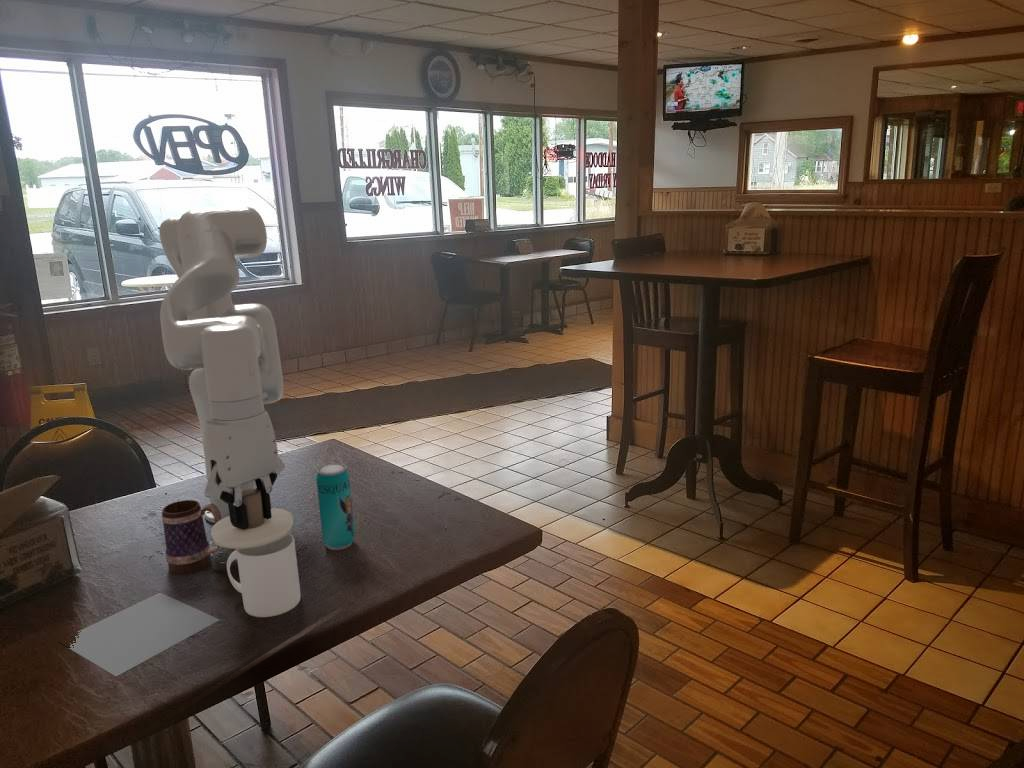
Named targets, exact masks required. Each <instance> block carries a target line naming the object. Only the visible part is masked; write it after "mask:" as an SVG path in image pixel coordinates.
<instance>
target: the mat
mask: <svg viewBox="0 0 1024 768" xmlns="http://www.w3.org/2000/svg"><path fill="white" fill-rule="evenodd" d="M219 621H221V619H219V618H217V617H214V616H213V615H211V614H208V613H206V612H203V611H202V610H199V609H197V608H195V607H193V606H191V605H189V604H187V603H184V602H182V601H180V600H178V599H175V598H173V597H171V596H169V595H166V594H165V593H162V592H158V593H155V594H154V595H152V596H150V597H148V598H146V599H144V600H141V601H139V602H137V603H134V604H133V605H130V606H129V607H127V608H124V609H123V610H120V611H118V612H116V613H114V614H112V615H110V616H107V617H106V618H104V619H101V620H100V621H97V622H95V623H93V624H90V625H89V626H87V627H84V628H82V629H80V630H78V631H77V632H80V631H81V632H80V633H78V634H79V635H78V636H79V638H77V637H78V636H75V637H76V643H73V644H71V643H70V644H71V645H70V647H71V648H68V649H69V650H70V649H71V651H72V652H74V653H75V654H77V655H79V656H81V657H82V658H84V659H85V660H87V661H89V662H90V663H92V664H94V665H96V666H97V667H99V668H101V669H102V670H104V671H106V672H107V673H109V674H111V675H112V676H114V677H115V678H116V677H118V676H121V675H122V674H124V673H126V672H128V671H130V670H132V669H134V668H135V667H136V666H139V665H141V664H143V663H145V662H146V661H149V660H150V659H152V658H153V657H155V656H157V655H159V654H161V653H163V652H164V651H166V650H168V649H170V648H172V647H174V646H176V645H177V644H179V643H181V642H183V641H185V640H187V639H188V638H190V637H192V636H193V635H195V634H197V633H200V632H202V631H203V630H205V629H207V628H209V627H211V626H212V625H214V624H216V623H217V622H219ZM73 642H75V641H73ZM72 645H74V646H72ZM73 647H74V648H73Z"/></svg>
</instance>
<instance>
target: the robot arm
mask: <svg viewBox="0 0 1024 768" xmlns="http://www.w3.org/2000/svg"><path fill="white" fill-rule="evenodd" d="M158 233H159V234H158V235H159V240H160V244H161V247H162V249H163V252H164V254H165V256H166V259H167V260H168V262H169V264H170V266H171V268H172V269H173V271H174V272H175V274H176V277H177V278H178V279H177V280H175V282H174V283H173V284H172V285H171V287H169V288H168V291H167V292H166V294H165V295H164V297H163V299H162V302H161V304H160V310H159V320H160V328H161V337H162V344H163V350H164V353H165V356H166V357H165V358H166V359H167V361H168V363H169V364H170V366H171V365H172V367H174V368H175V369H178V370H183V371H188V370H192V372H191V373H190V375H189V379H188V385H189V391H190V394H191V397H192V401H193V404H194V408H195V410H196V415H197V419H198V423H199V428H200V434H201V440H202V446H203V453H204V463H205V464H204V465H205V466H204V467H205V475H206V480H207V483H206V486H205V489H204V497H205V498H208V499H209V501H210V503H209V504H212V503H213V504H215V505H216V506H217V507H218V509H219V511H220V512H221V519H223V518H225V517H227V516H230V521H231V523H232V525H233V526H234V527H237V528H240V529H243V530H245V529H247V528H248V519H247V511H246V505H245V504H242V491H244V490H248V489H258V490H260V491H261V498H262V506H263V514H264V518H265V519H270V518H271V517H272V515H271V508H272V503H271V502H272V501H271V496H270V495H271V493H273V486H274V485H275V482H276V480H277V478H278V476H279V475H280V474H281V473H282V471H283V470H284V469H285V468H286V465H285V463H284V462H283V460H282V459H281V458H280V457H279V450H278V444H277V440H276V436H275V435H276V434H275V431H274V426H273V424H272V420H271V417H270V415H269V412H268V410H266V409H265V405H268V404H274V403H276V402H278V401H280V399H282V398H283V394H284V377H283V371H282V370H283V369H282V362H281V355H280V349H279V348H280V347H279V342H278V335H277V329H276V324H275V319H274V316H273V314H272V312H271V310H270V308H269V307H267V306H266V305H264V304H261V303H254V302H253V303H243V304H234V303H233V300H232V292H233V291H234V290H236V287H237V286H238V284H239V282H240V271H239V268H238V263H237V259H251V258H252V259H253V258H257V257H259V256H261V255H262V254H264V253H265V250H266V247H267V245H268V243H267V241H268V235H267V228H266V225H265V222H264V220H263V218H262V216H261V215H260V213H259V212H258V211H257V210H256V209H255V208H253V207H250V206H228V207H226V206H224V207H223V206H221V207H202V208H195V209H192V210H191V209H190V210H189V211H187V212H185V213H183V214H182V215H178V216H177V215H176V216H173V217H169V218H167V219H164V220H163V221H162V222H161V223H160V226H159V231H158ZM185 318H187V319H185ZM204 517H205V520H206V521H208V522H210V523H212V524H215V518H214V516H213V514H212V513H211V512H209V511H206V512H205V514H204Z"/></svg>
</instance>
